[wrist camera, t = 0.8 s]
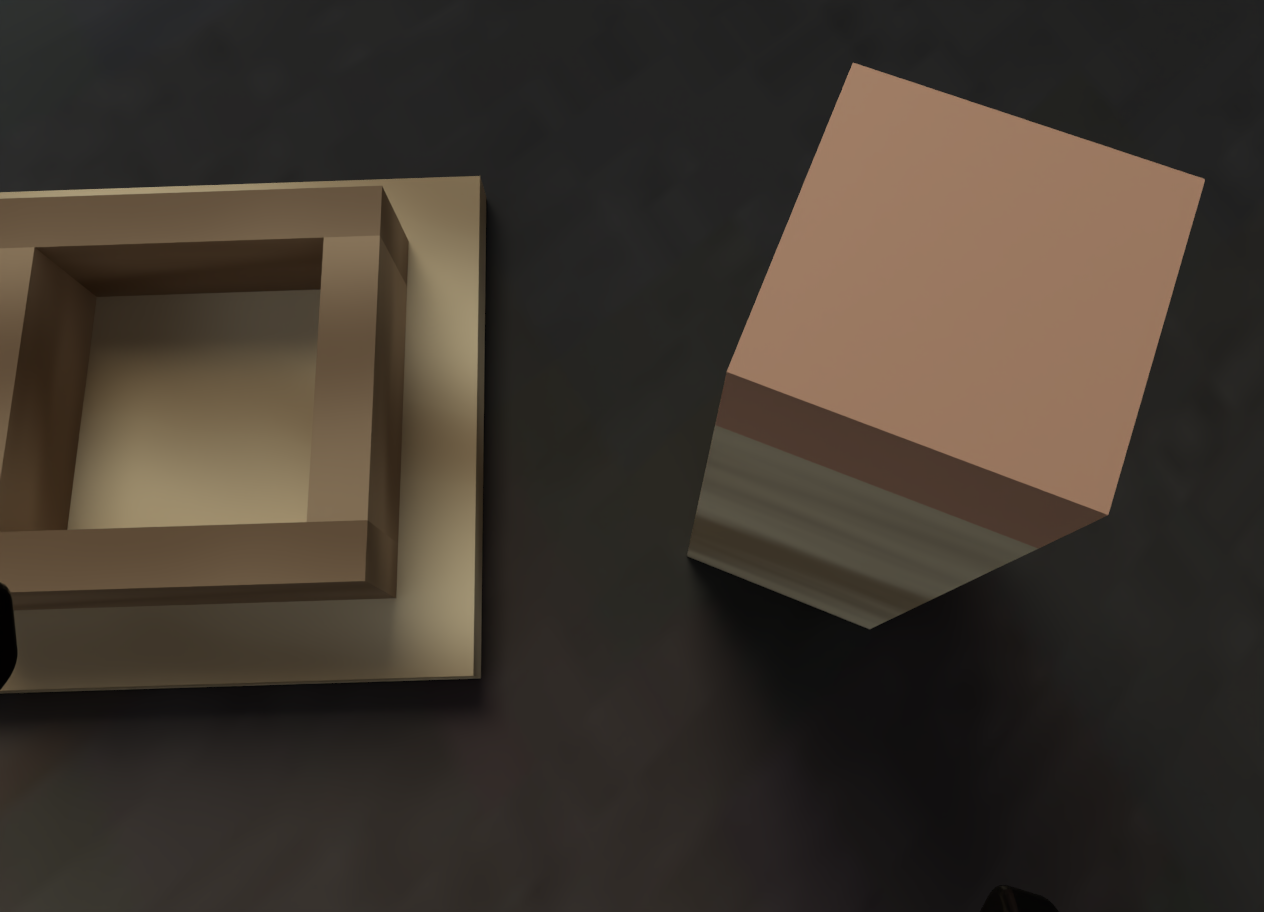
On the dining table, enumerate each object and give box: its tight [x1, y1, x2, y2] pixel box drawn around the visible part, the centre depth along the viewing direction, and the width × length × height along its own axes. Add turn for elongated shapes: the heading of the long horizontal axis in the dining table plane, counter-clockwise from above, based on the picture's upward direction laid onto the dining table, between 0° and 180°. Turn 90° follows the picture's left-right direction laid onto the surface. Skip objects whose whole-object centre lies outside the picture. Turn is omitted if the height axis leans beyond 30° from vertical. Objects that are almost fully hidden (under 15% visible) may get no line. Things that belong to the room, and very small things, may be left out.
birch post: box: [687, 63, 1205, 629], centre depth 17 cm, size 4×4×12 cm
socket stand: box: [0, 176, 486, 693], centre depth 22 cm, size 12×12×4 cm
